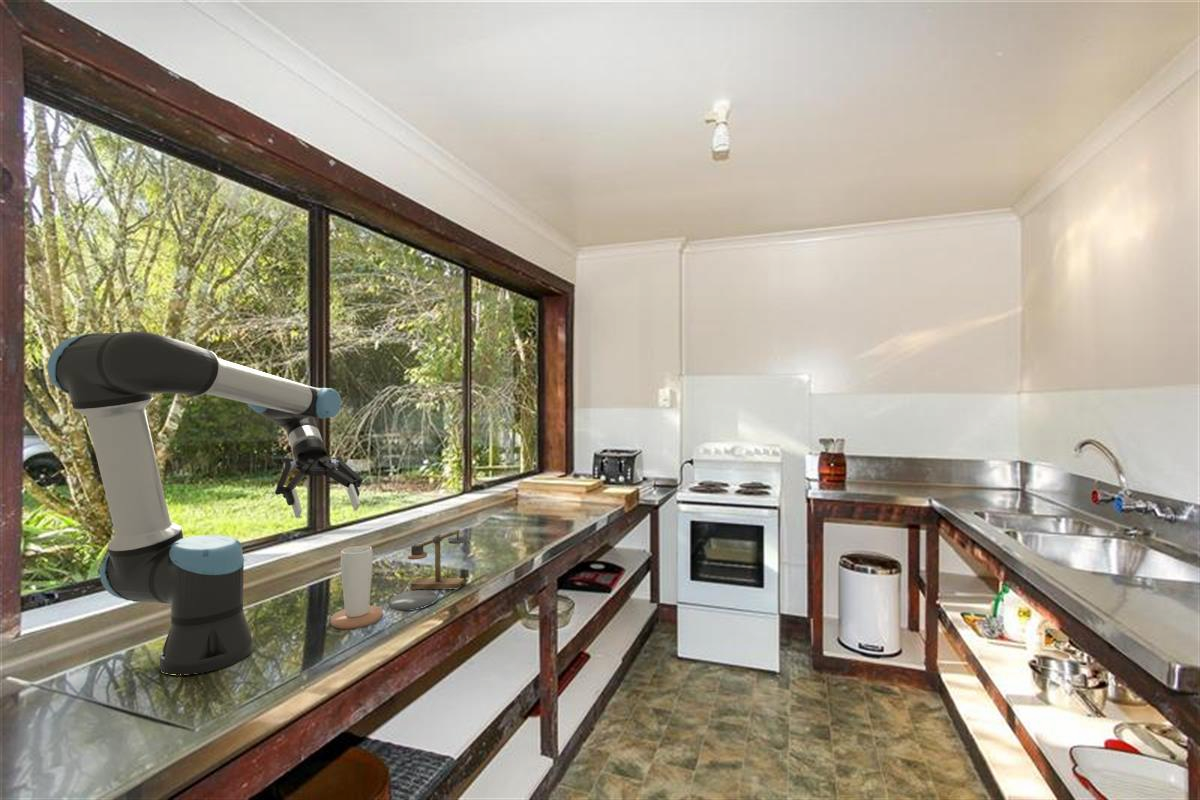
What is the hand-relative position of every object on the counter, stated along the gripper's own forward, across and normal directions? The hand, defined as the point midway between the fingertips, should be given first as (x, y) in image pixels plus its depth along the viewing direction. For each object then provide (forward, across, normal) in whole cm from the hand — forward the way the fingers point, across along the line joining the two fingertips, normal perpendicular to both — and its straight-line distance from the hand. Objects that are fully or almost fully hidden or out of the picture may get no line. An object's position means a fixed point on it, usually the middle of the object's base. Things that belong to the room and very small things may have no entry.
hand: (329, 510), depth 133 cm
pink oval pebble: (+25, -2, -10) cm, 27 cm away
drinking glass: (+24, -2, -9) cm, 26 cm away
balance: (+20, -27, -14) cm, 36 cm away
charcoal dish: (+24, -17, -10) cm, 31 cm away
